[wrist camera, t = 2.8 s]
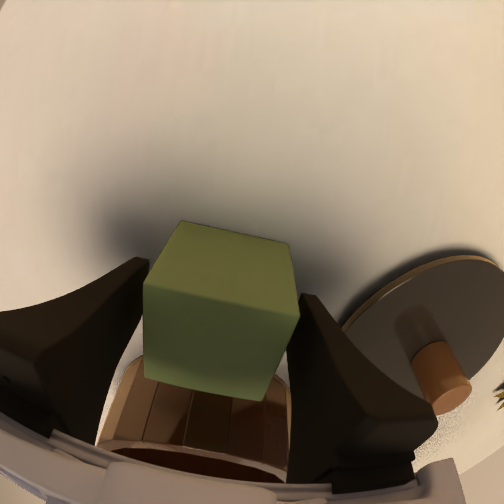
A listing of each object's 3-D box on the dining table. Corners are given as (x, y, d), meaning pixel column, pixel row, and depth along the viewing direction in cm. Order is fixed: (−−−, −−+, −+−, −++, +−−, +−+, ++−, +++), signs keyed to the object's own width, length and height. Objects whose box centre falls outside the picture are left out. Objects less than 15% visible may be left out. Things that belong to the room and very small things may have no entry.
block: (289, 244, 12) (301, 316, 8) (262, 325, 14) (261, 402, 10) (180, 220, 12) (142, 282, 8) (170, 305, 14) (143, 378, 10)
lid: (530, 272, 13) (569, 313, 9) (436, 403, 18) (452, 446, 14) (382, 219, 12) (430, 276, 8) (291, 400, 17) (295, 460, 14)
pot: (321, 367, 16) (335, 460, 11) (267, 449, 21) (267, 510, 16) (115, 326, 15) (73, 412, 10) (130, 422, 20) (112, 481, 15)
